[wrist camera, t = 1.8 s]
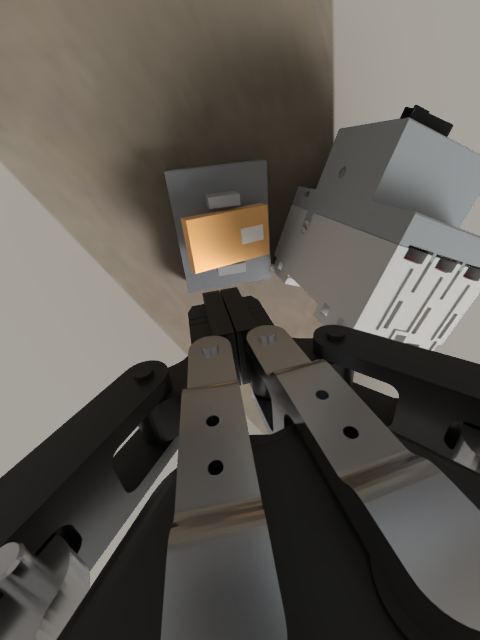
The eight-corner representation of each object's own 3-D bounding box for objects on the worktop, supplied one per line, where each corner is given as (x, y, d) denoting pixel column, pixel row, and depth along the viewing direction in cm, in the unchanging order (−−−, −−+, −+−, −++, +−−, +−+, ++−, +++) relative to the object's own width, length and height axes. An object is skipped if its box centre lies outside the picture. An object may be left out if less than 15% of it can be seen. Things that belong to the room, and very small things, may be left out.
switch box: (164, 170, 24) (163, 173, 19) (256, 159, 25) (274, 160, 21) (187, 280, 29) (190, 301, 25) (262, 267, 30) (278, 286, 26)
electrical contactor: (392, 141, 27) (598, 126, 14) (328, 281, 33) (430, 360, 20) (325, 109, 24) (500, 56, 11) (269, 267, 30) (343, 347, 17)
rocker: (178, 217, 21) (186, 220, 20) (256, 202, 24) (268, 204, 22) (188, 267, 23) (196, 274, 22) (259, 249, 26) (270, 254, 24)
